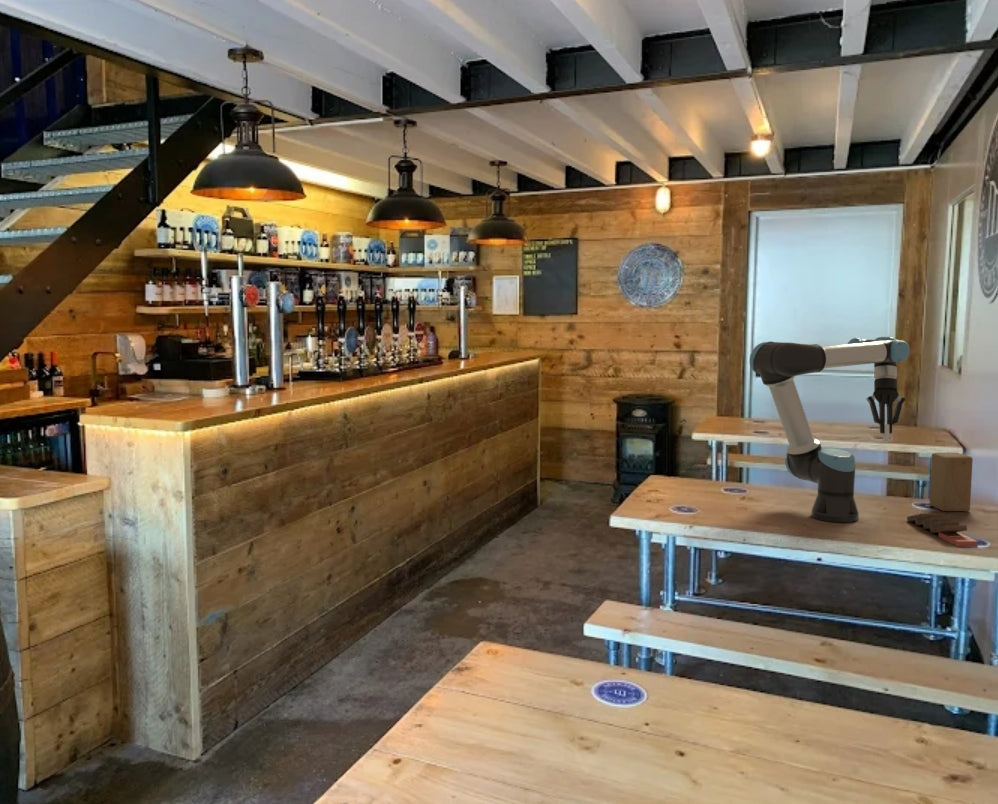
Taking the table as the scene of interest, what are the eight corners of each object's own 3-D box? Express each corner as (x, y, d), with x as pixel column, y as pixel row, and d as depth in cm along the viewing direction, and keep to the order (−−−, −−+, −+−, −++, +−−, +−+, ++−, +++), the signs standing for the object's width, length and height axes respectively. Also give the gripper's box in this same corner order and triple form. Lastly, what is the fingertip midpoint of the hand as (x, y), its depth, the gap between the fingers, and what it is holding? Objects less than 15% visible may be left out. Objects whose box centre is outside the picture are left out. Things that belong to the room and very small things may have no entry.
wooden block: (971, 512, 280) (974, 456, 278) (942, 512, 280) (945, 457, 278) (955, 505, 290) (958, 452, 288) (928, 505, 290) (930, 452, 288)
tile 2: (915, 520, 264) (931, 517, 253) (933, 520, 264) (950, 517, 253) (915, 525, 263) (932, 522, 253) (933, 525, 263) (951, 522, 252)
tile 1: (906, 516, 269) (922, 513, 258) (924, 516, 269) (941, 513, 258) (907, 521, 268) (923, 518, 258) (925, 521, 268) (942, 518, 258)
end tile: (938, 531, 249) (957, 541, 238) (957, 531, 249) (977, 541, 238) (938, 537, 250) (957, 546, 239) (957, 537, 249) (977, 546, 238)
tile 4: (929, 527, 254) (946, 525, 243) (949, 527, 254) (966, 525, 243) (930, 533, 254) (947, 530, 243) (949, 533, 253) (967, 530, 243)
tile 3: (922, 524, 259) (939, 520, 248) (941, 524, 258) (958, 520, 248) (923, 529, 258) (939, 526, 248) (942, 529, 258) (959, 526, 247)
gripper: (901, 381, 292) (902, 444, 288) (863, 380, 294) (864, 442, 291) (908, 377, 285) (908, 442, 281) (869, 376, 287) (870, 440, 283)
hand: (886, 442), depth 286 cm, fingers closed
